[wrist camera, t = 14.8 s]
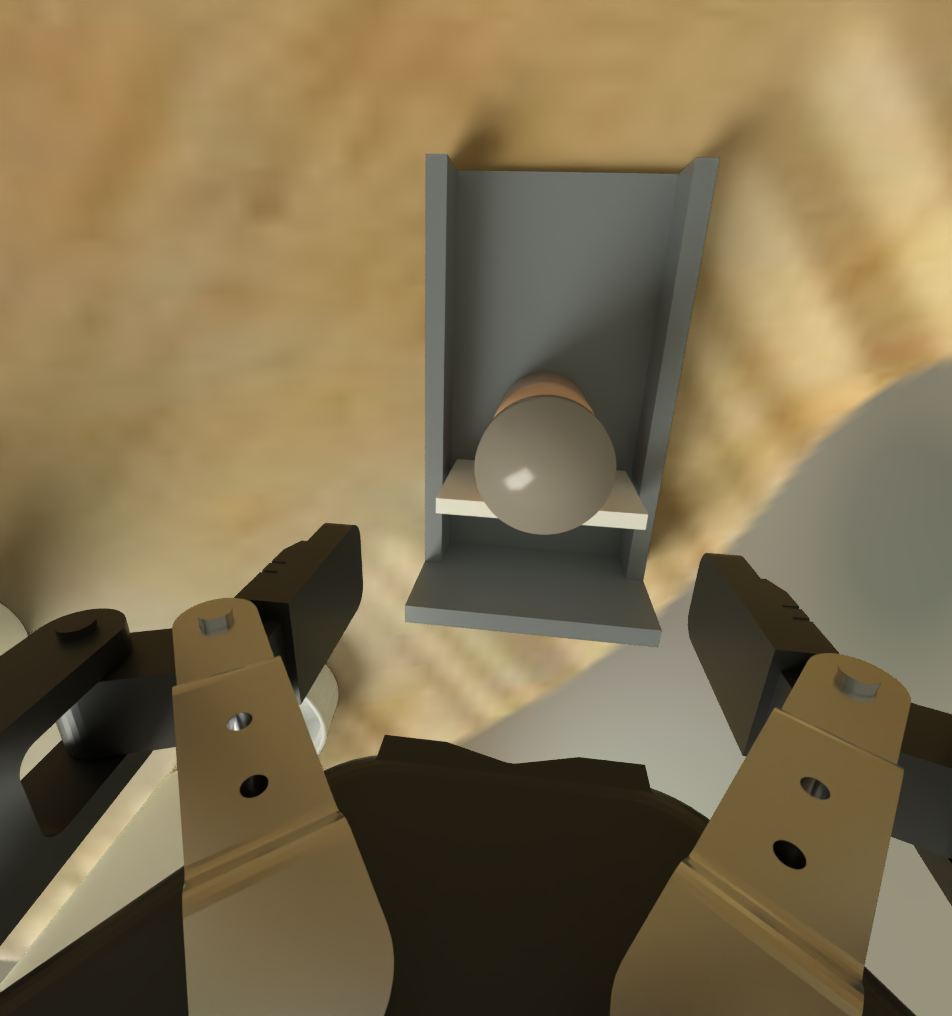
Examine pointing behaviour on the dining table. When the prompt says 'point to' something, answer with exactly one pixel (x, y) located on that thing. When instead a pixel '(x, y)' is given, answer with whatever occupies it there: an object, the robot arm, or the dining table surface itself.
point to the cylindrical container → (10, 630)
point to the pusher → (466, 500)
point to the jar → (545, 457)
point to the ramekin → (320, 707)
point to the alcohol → (116, 876)
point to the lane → (559, 349)
